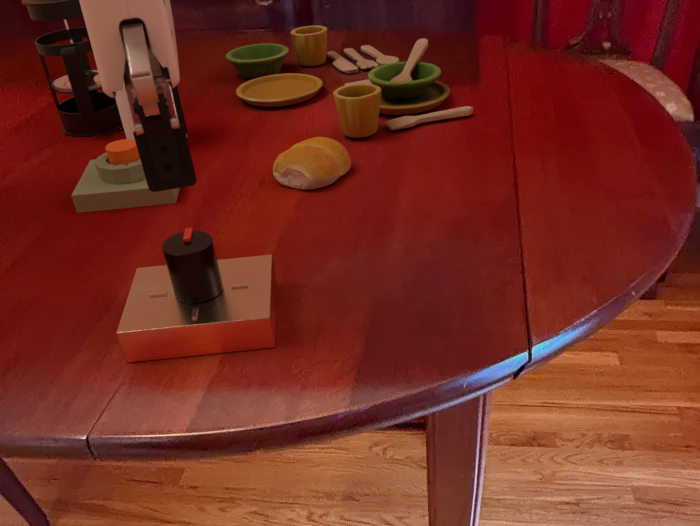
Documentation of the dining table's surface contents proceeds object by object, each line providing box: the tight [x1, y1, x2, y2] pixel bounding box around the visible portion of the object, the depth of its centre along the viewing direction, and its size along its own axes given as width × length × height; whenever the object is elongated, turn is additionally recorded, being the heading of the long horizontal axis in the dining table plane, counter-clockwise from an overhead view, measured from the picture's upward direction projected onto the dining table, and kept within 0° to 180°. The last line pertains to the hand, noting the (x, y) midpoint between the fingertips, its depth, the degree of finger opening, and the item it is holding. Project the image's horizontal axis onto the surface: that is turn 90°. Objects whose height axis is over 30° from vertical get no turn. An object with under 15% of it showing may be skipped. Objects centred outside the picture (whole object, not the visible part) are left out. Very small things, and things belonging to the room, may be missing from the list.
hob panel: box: [115, 254, 278, 364], centre depth 61 cm, size 12×10×3 cm
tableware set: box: [225, 24, 474, 139], centre depth 105 cm, size 41×28×6 cm
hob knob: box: [161, 226, 223, 303], centre depth 59 cm, size 4×4×5 cm
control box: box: [70, 152, 181, 214], centre depth 83 cm, size 11×10×4 cm
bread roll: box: [272, 136, 352, 191], centre depth 83 cm, size 8×9×4 cm
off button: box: [104, 138, 140, 165], centre depth 82 cm, size 4×4×2 cm
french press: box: [20, 0, 123, 138], centre depth 95 cm, size 12×9×23 cm
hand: (170, 160), depth 52 cm, fingers open, 9 cm apart
